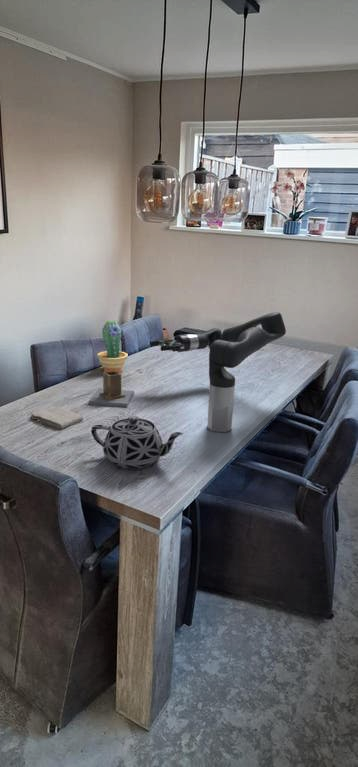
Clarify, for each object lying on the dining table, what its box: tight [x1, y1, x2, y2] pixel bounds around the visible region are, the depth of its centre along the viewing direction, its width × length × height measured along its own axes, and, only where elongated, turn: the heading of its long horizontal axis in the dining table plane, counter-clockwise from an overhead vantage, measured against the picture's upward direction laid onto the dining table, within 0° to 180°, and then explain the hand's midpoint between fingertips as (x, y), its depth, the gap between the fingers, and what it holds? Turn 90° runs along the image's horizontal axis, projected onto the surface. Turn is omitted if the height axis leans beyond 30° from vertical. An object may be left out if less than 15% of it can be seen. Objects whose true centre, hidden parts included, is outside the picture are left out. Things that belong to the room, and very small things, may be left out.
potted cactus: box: [96, 320, 128, 373], centre depth 254 cm, size 15×15×25 cm
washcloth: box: [30, 405, 84, 430], centre depth 195 cm, size 12×18×3 cm, turn 56°
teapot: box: [90, 415, 184, 470], centre depth 163 cm, size 19×31×15 cm, turn 75°
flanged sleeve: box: [100, 371, 125, 400], centre depth 216 cm, size 8×8×10 cm
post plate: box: [88, 388, 135, 408], centre depth 216 cm, size 16×16×10 cm
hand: (155, 346), depth 220 cm, fingers open, 8 cm apart
